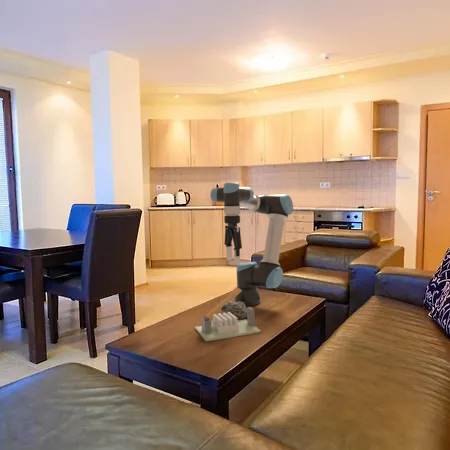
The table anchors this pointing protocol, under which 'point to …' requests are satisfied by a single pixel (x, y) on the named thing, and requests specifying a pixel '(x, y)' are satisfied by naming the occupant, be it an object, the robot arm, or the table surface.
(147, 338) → the table surface
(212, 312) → the strap
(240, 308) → the rock
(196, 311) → the table surface
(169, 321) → the table surface
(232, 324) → the heatsink board
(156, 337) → the table surface
